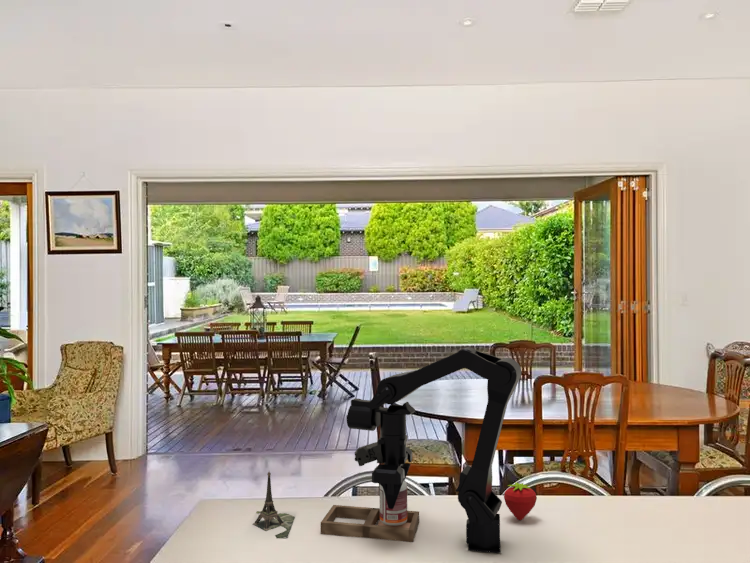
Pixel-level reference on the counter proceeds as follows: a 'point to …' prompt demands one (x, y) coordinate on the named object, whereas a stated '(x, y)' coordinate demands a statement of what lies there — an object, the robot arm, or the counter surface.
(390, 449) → the robot arm
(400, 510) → the pill bottle
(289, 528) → the eiffel tower figurine
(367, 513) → the caddy
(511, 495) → the strawberry
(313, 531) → the counter surface
